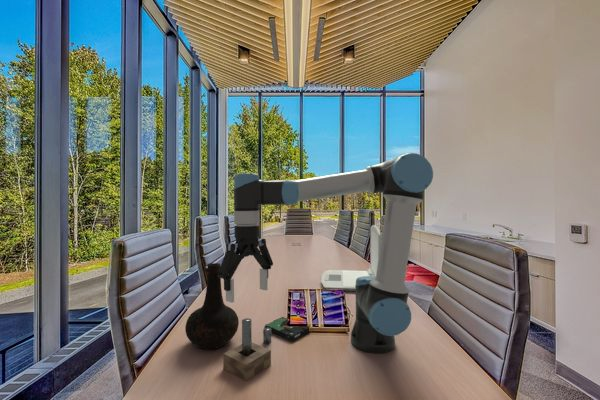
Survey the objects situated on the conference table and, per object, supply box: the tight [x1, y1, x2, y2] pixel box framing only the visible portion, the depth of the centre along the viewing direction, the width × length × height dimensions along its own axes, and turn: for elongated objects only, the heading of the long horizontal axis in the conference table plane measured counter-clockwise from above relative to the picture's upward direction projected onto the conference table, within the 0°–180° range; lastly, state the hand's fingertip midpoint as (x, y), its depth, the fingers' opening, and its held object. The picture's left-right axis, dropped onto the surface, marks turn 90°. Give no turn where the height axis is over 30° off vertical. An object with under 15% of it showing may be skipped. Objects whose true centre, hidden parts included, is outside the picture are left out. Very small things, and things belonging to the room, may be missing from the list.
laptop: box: [320, 224, 382, 292], centre depth 181 cm, size 42×33×35 cm
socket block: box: [222, 342, 272, 382], centre depth 89 cm, size 10×10×4 cm
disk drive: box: [263, 316, 311, 343], centre depth 114 cm, size 10×3×15 cm
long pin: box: [241, 317, 253, 357], centre depth 90 cm, size 3×3×14 cm
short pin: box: [262, 327, 272, 345], centre depth 105 cm, size 3×3×4 cm
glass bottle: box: [184, 262, 240, 350], centre depth 104 cm, size 18×18×28 cm
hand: (247, 295), depth 89 cm, fingers open, 13 cm apart
